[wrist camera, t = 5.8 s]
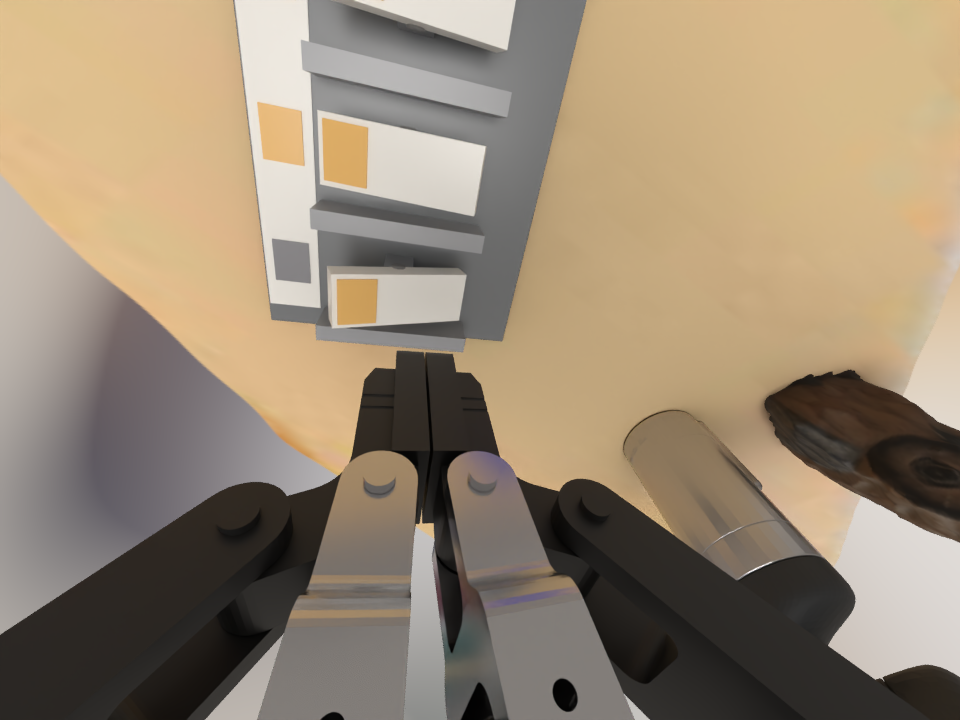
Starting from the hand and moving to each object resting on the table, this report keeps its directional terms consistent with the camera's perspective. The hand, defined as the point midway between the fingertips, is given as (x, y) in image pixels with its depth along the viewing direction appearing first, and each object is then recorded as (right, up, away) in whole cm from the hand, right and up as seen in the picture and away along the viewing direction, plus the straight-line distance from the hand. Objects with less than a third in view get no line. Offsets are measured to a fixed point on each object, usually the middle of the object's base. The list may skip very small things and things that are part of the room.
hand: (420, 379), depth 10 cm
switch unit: (-3, +14, +15) cm, 21 cm away
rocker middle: (-3, +12, +11) cm, 17 cm away
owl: (+42, -5, +36) cm, 56 cm away
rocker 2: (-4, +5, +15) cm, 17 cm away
